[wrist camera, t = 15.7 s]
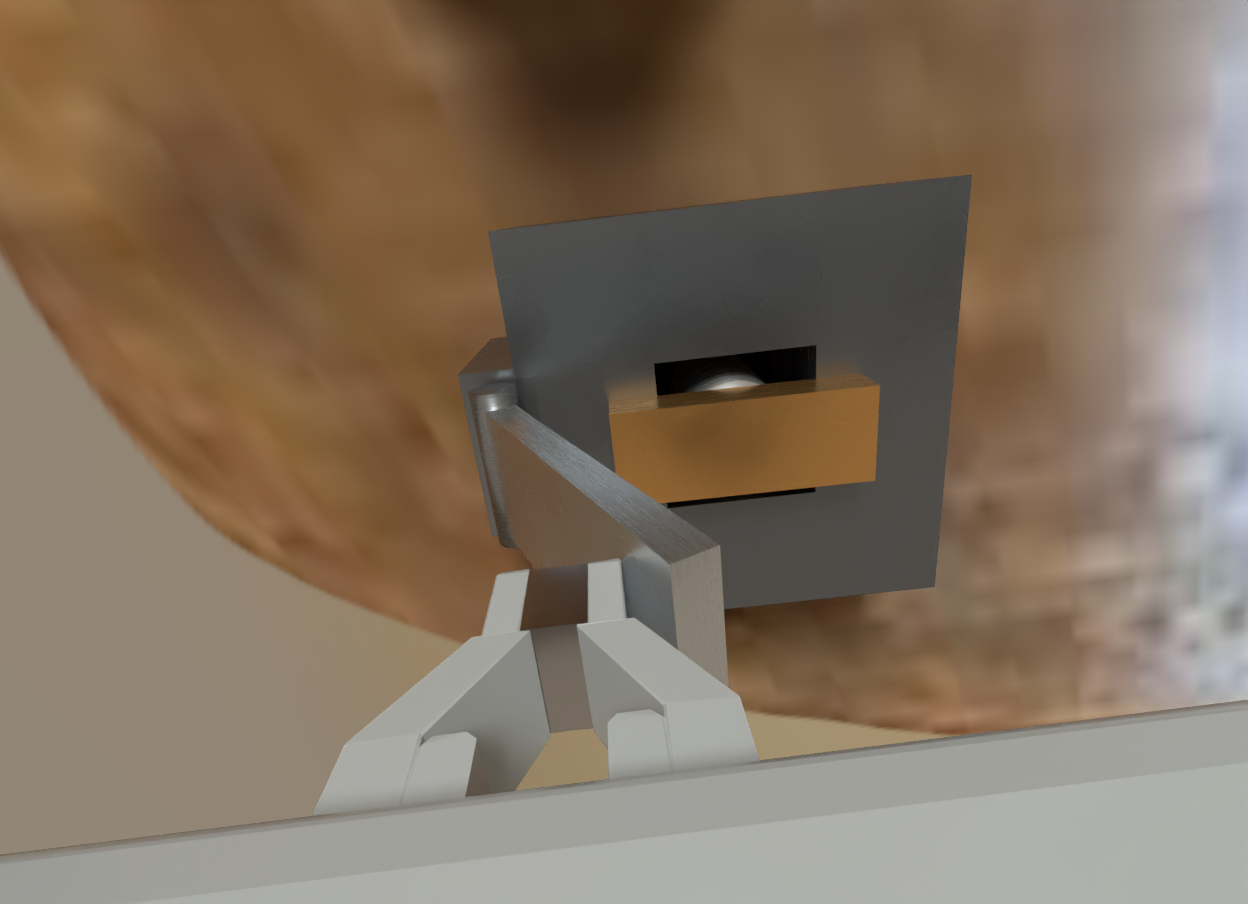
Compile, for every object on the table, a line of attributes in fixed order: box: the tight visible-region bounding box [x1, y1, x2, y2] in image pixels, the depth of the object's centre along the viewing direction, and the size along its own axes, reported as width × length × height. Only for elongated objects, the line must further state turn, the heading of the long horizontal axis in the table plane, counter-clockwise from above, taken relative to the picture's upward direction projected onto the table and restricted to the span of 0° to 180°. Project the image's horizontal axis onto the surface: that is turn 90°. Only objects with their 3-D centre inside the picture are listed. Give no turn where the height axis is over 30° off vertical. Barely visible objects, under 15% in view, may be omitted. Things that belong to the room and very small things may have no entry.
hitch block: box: [458, 175, 972, 609], centre depth 20 cm, size 14×12×5 cm
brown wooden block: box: [609, 354, 880, 503], centre depth 19 cm, size 7×3×6 cm, turn 96°
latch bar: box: [468, 383, 729, 688], centre depth 13 cm, size 10×4×1 cm
